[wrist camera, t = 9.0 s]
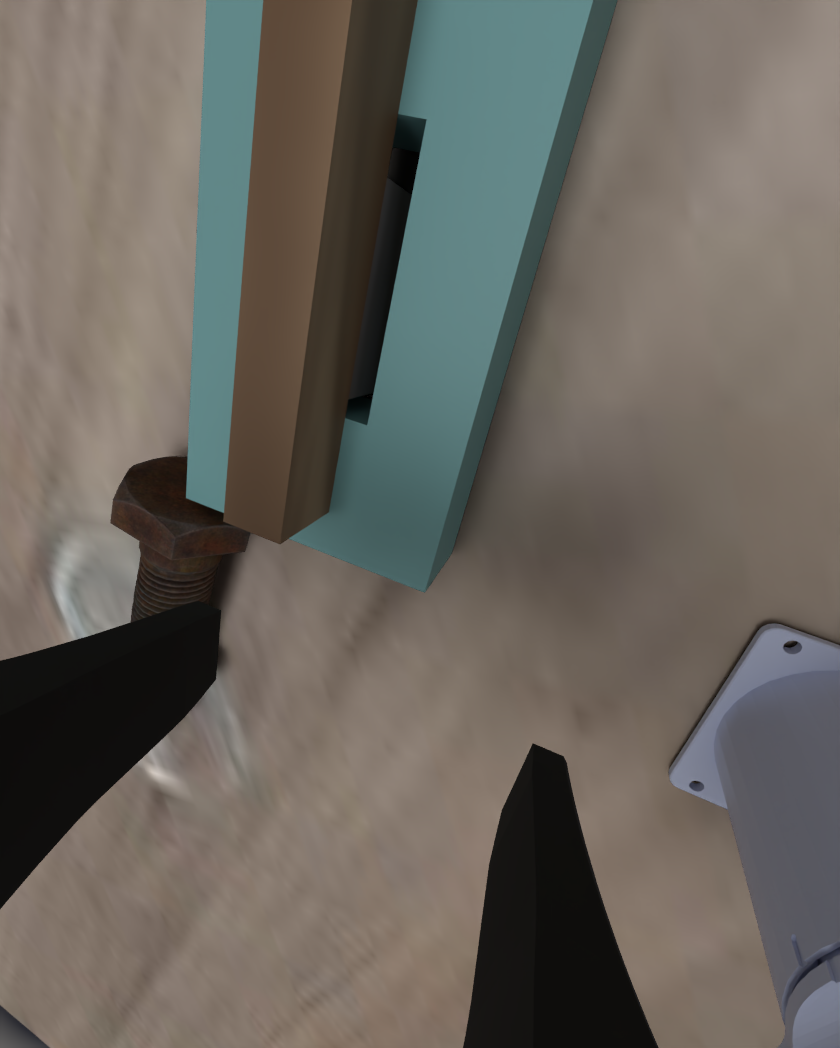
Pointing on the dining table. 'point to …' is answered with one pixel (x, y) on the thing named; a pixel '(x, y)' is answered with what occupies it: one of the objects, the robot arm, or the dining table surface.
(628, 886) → the dining table surface
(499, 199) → the post block
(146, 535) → the bolt
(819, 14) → the dining table surface
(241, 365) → the long brown beam
